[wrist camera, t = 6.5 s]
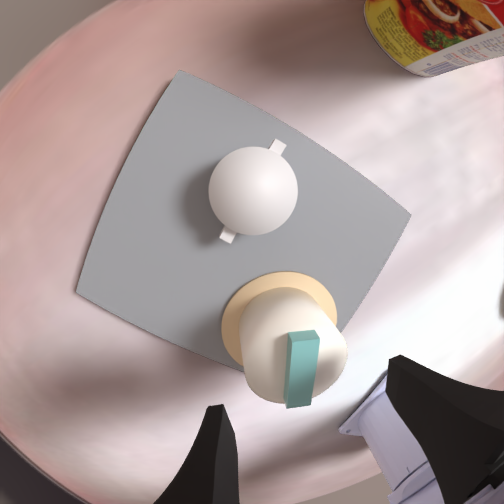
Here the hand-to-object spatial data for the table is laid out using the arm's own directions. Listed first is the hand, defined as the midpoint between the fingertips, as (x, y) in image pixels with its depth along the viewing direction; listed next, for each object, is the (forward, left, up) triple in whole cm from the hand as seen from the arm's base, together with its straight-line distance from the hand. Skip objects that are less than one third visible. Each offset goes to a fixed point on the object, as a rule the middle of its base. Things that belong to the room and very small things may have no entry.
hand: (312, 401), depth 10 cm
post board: (+4, -3, -8) cm, 9 cm away
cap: (0, 0, -6) cm, 6 cm away
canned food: (+2, -23, -8) cm, 24 cm away
